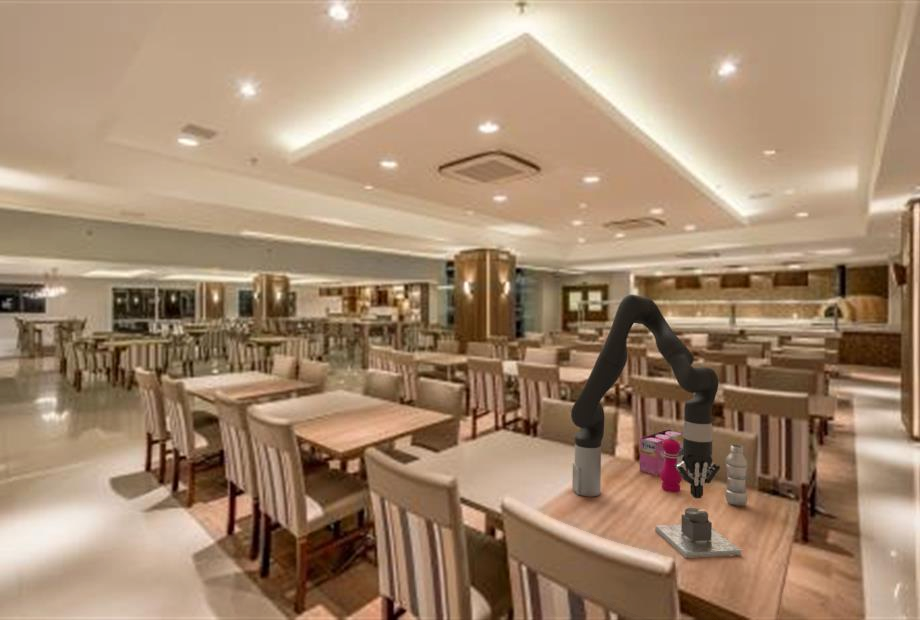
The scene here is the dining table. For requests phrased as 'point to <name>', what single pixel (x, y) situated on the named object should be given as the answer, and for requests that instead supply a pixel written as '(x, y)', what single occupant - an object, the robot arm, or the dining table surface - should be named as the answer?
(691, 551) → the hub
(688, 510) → the knob
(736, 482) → the plastic bottle
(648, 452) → the gum box
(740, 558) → the dining table surface
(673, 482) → the pepper mill
